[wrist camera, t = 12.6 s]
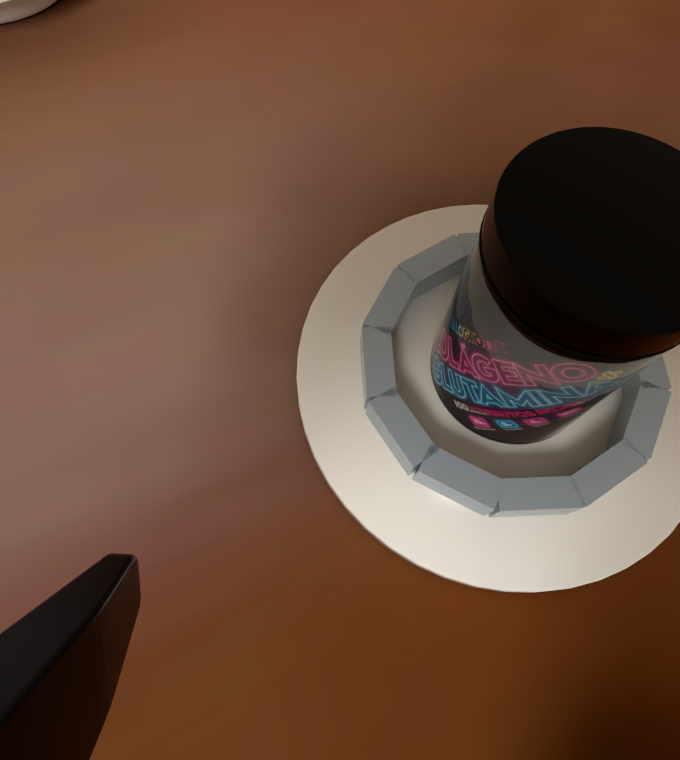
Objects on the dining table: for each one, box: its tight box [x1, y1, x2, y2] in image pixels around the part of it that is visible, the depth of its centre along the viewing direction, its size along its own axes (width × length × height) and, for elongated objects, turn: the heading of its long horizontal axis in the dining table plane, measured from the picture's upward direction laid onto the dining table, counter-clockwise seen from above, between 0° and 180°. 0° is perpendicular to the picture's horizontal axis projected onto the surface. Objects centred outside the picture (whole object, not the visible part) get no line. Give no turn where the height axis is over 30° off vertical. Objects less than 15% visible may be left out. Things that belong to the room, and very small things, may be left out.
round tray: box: [297, 204, 680, 593], centre depth 24 cm, size 18×18×2 cm
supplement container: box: [430, 127, 680, 445], centre depth 20 cm, size 7×7×10 cm
